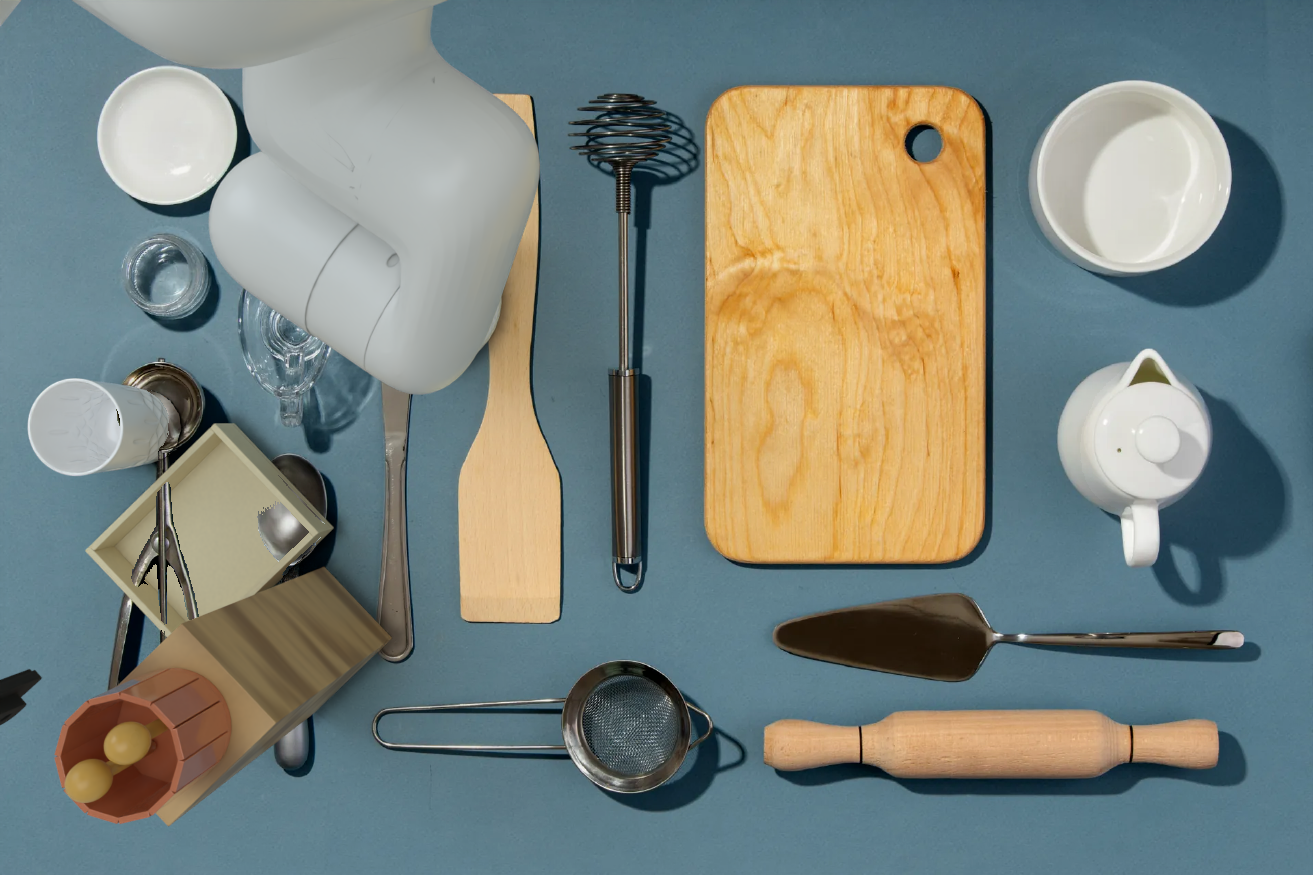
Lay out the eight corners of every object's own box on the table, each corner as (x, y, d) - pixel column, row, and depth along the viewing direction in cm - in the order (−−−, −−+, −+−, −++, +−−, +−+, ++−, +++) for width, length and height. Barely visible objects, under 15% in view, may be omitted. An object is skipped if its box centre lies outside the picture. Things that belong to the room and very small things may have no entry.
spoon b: (152, 719, 60) (76, 758, 53) (177, 746, 60) (104, 789, 53) (126, 744, 60) (46, 787, 53) (151, 771, 60) (74, 818, 53)
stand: (324, 566, 85) (181, 623, 61) (392, 638, 85) (276, 723, 61) (246, 641, 85) (74, 727, 61) (314, 713, 85) (168, 827, 61)
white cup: (192, 387, 85) (126, 383, 75) (185, 473, 85) (118, 480, 75) (108, 379, 85) (31, 373, 75) (100, 465, 85) (23, 470, 75)
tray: (234, 423, 85) (214, 423, 81) (334, 527, 85) (318, 532, 81) (109, 545, 85) (84, 550, 82) (208, 649, 85) (187, 659, 82)
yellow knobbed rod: (187, 685, 60) (115, 720, 53) (212, 712, 60) (144, 751, 53) (161, 710, 60) (85, 749, 53) (186, 737, 60) (114, 780, 53)
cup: (175, 643, 61) (119, 667, 55) (255, 728, 61) (208, 761, 55) (94, 722, 61) (29, 755, 55) (173, 807, 61) (117, 849, 55)
